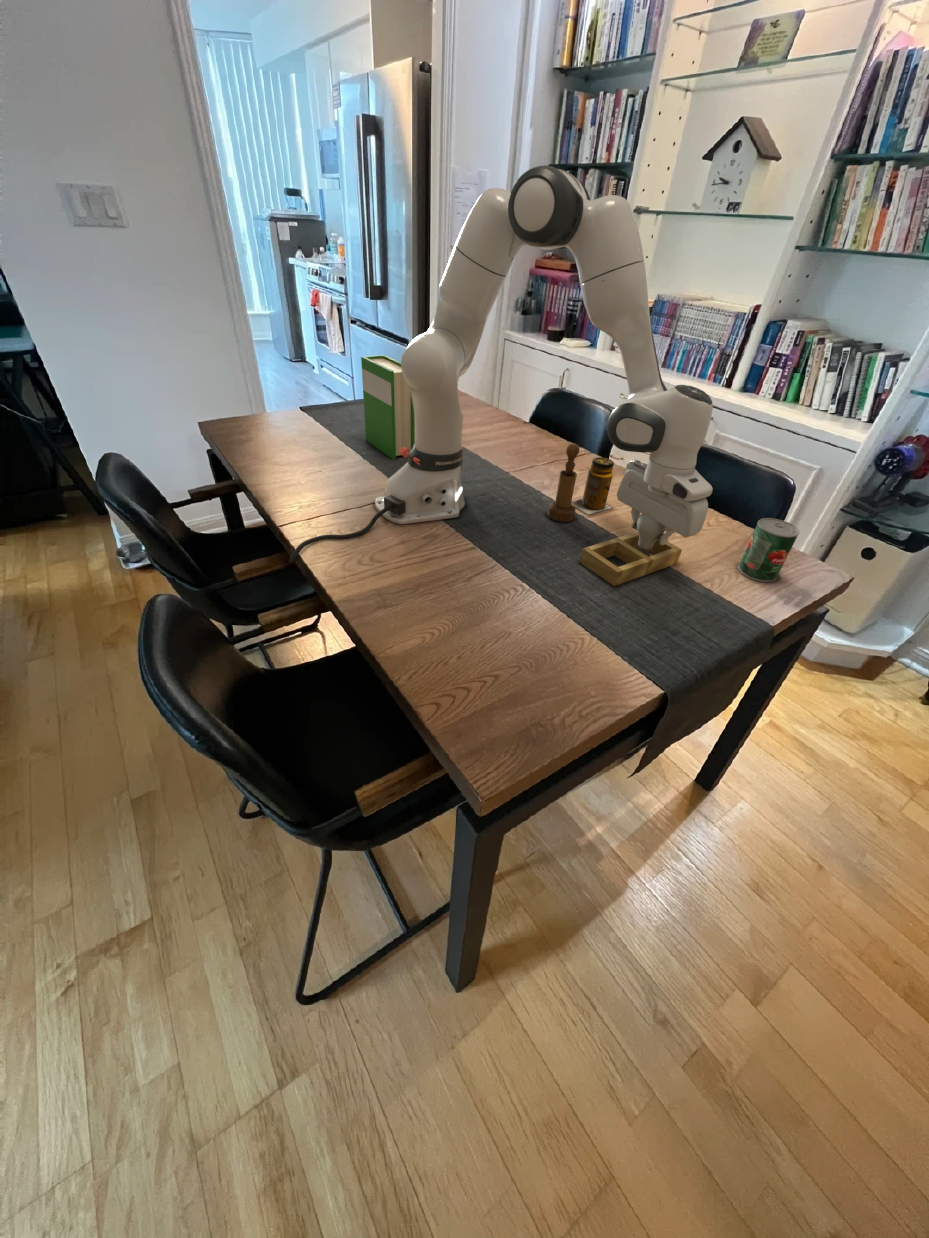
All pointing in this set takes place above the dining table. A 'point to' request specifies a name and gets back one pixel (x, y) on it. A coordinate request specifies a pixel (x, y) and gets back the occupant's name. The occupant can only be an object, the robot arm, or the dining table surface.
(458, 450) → the robot arm
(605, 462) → the condiment
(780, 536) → the canned tomato
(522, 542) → the dining table surface
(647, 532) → the lightbulb
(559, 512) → the mortar and pestle
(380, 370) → the hardback book
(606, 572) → the rack
